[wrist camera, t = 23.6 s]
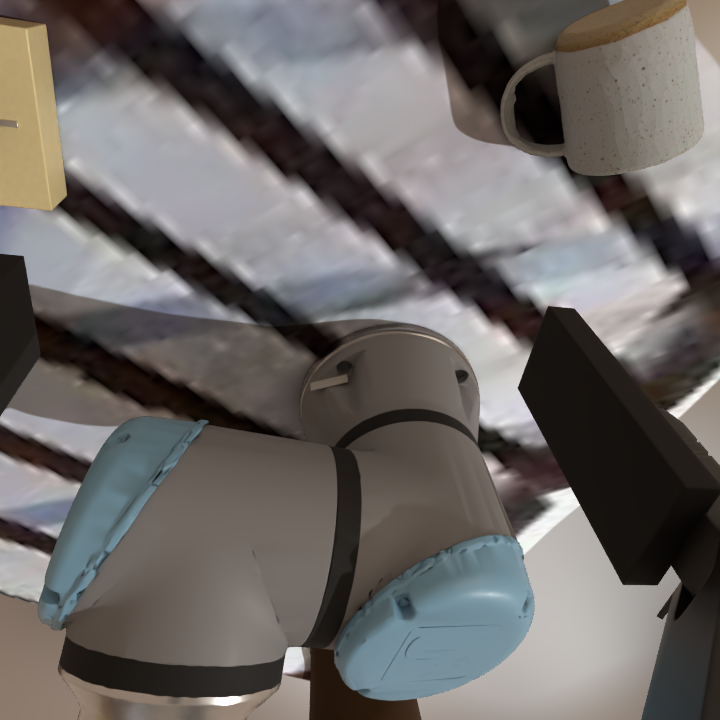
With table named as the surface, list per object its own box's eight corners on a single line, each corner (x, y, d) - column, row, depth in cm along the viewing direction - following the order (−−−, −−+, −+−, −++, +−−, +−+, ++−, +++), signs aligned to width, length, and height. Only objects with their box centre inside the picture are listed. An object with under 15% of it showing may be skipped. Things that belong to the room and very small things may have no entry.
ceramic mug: (649, -21, 35) (725, -18, 28) (662, 113, 39) (731, 141, 33) (480, 56, 36) (516, 76, 30) (511, 177, 41) (549, 216, 34)
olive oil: (286, 601, 65) (283, 893, 45) (349, 552, 62) (378, 846, 41) (355, 632, 70) (381, 909, 49) (418, 587, 66) (475, 868, 46)
